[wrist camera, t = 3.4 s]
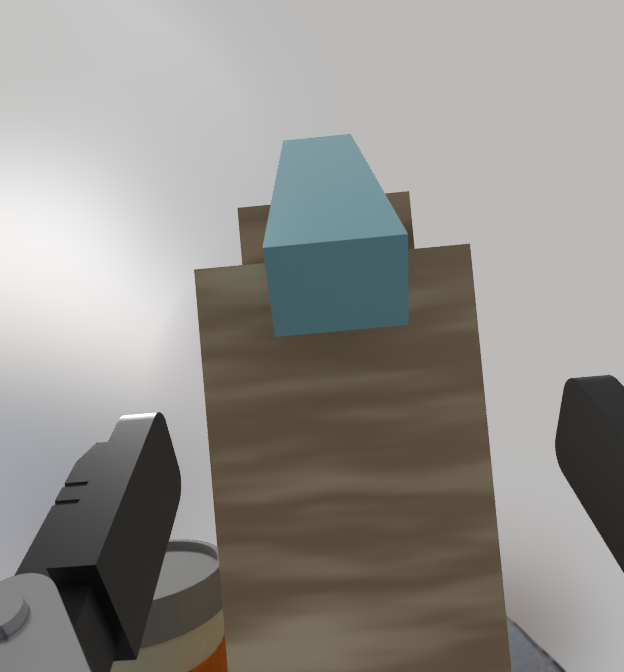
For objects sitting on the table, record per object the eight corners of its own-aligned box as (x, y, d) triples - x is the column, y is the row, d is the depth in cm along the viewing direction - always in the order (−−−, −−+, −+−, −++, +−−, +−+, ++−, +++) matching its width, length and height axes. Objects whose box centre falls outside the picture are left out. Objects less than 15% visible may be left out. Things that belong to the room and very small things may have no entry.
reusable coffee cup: (179, 693, 49) (166, 529, 49) (277, 751, 41) (260, 554, 41) (37, 787, 39) (22, 583, 40) (128, 888, 31) (107, 629, 31)
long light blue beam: (416, 322, 18) (375, -109, 18) (270, 335, 18) (232, -93, 19) (367, 337, 40) (349, 143, 41) (302, 343, 41) (285, 149, 41)
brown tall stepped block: (539, 957, 26) (458, 130, 27) (253, 973, 26) (185, 158, 27) (464, 743, 40) (414, 205, 41) (279, 755, 40) (233, 222, 41)
